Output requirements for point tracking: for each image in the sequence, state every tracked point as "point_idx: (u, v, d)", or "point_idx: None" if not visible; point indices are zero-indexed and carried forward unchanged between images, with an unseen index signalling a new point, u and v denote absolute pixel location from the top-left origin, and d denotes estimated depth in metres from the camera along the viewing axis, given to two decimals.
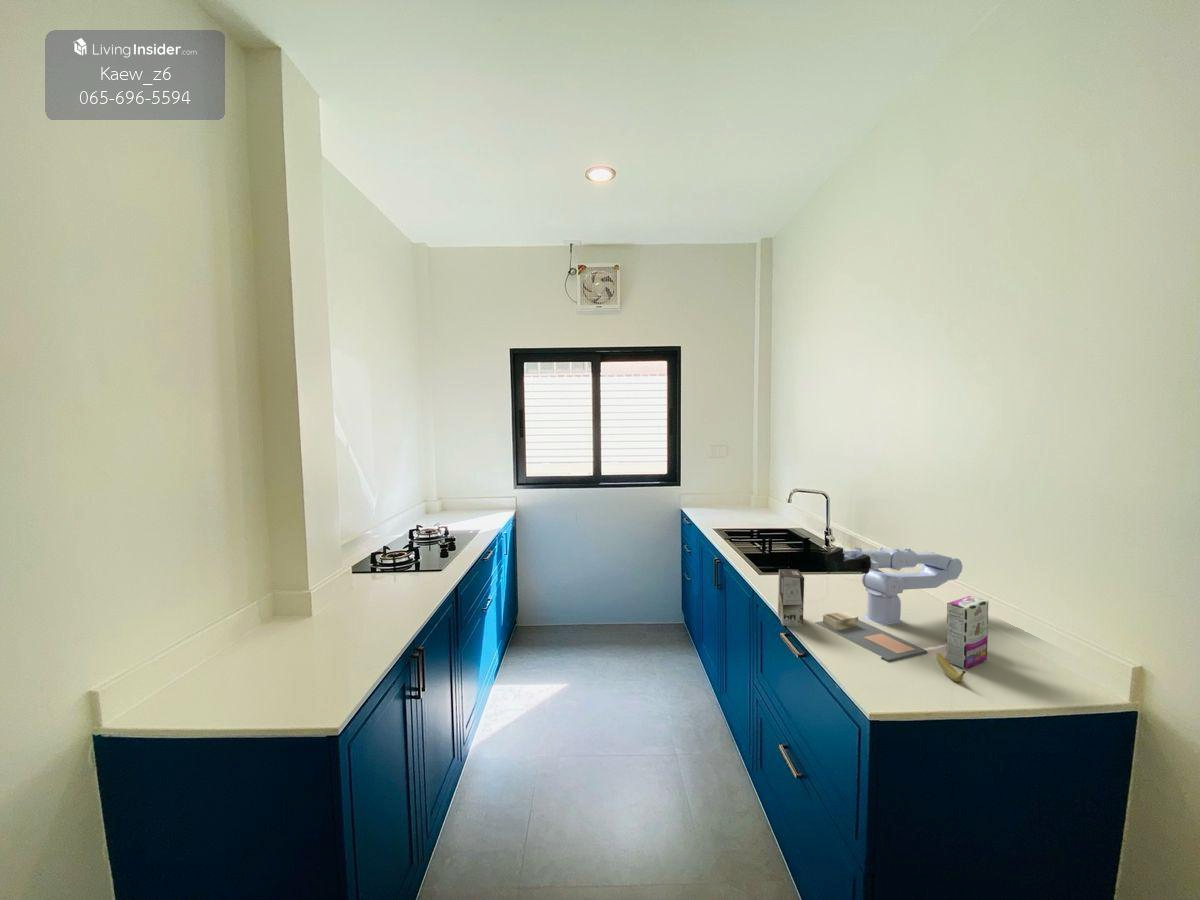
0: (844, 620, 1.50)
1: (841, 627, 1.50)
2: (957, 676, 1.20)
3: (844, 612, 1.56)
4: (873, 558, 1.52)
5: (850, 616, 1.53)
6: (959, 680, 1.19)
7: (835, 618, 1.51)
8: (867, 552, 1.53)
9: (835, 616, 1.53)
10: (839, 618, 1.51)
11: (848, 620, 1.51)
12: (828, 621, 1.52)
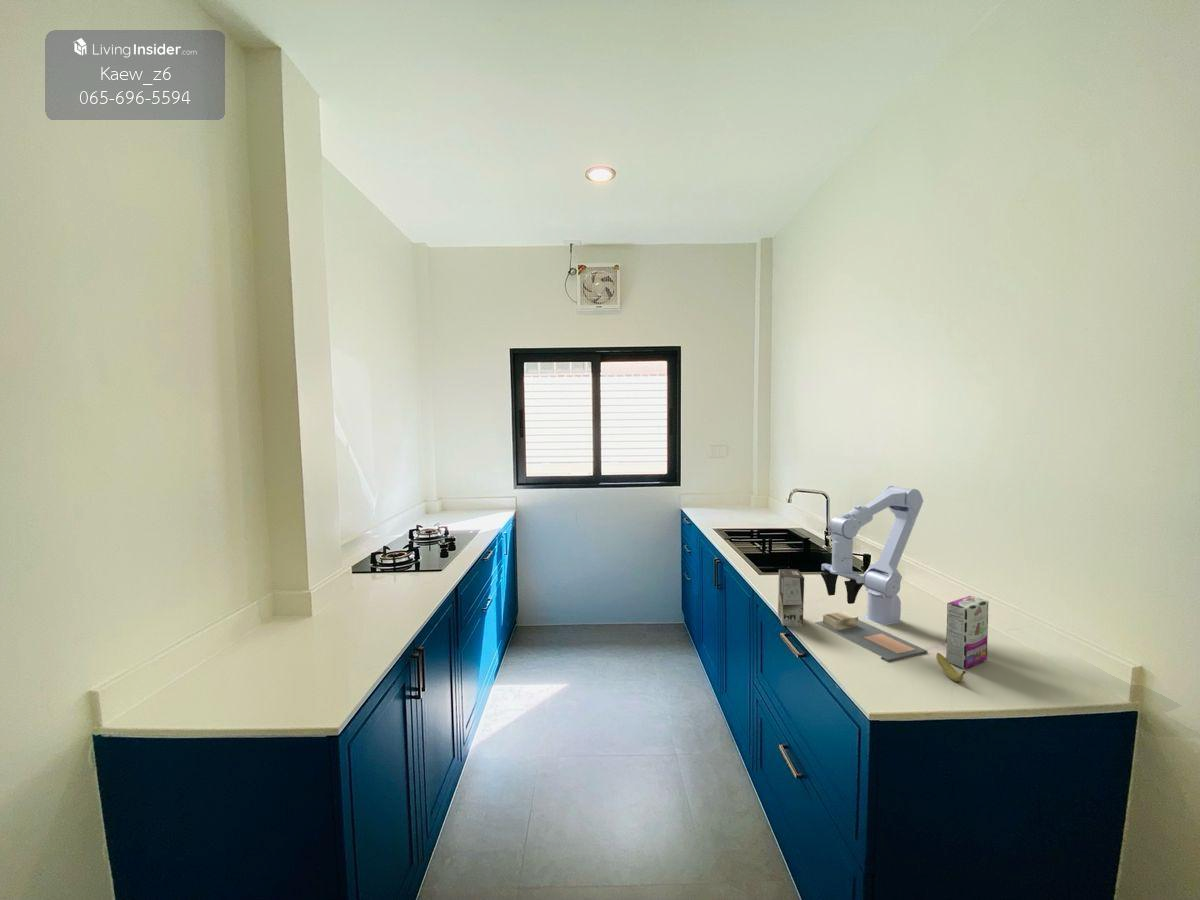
0: (844, 620, 1.50)
1: (841, 627, 1.50)
2: (957, 676, 1.20)
3: (844, 612, 1.56)
4: (846, 562, 1.49)
5: (850, 616, 1.53)
6: (959, 680, 1.19)
7: (835, 618, 1.51)
8: (838, 564, 1.50)
9: (835, 616, 1.53)
10: (839, 618, 1.51)
11: (848, 620, 1.51)
12: (828, 621, 1.52)
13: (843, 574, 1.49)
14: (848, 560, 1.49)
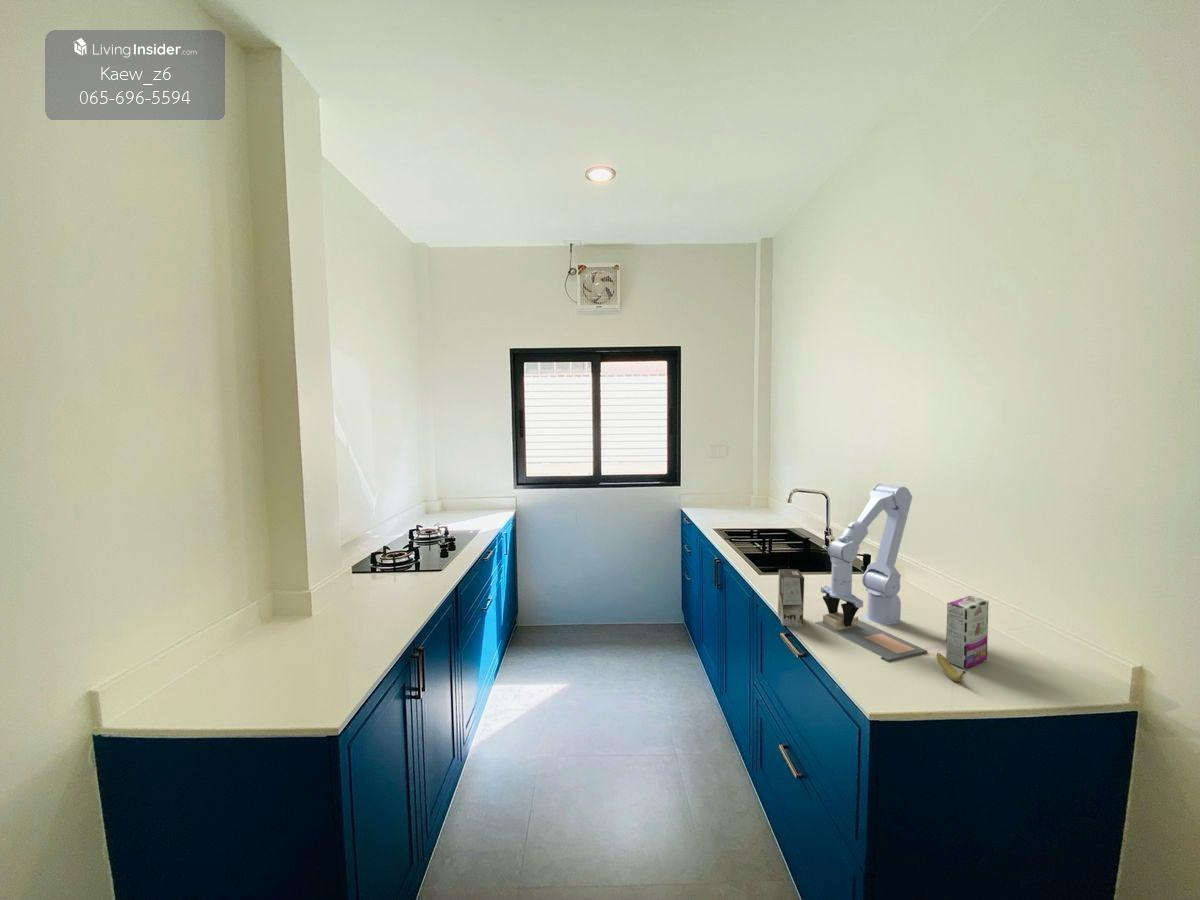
0: None
1: (841, 627, 1.50)
2: (957, 676, 1.20)
3: None
4: (845, 586, 1.50)
5: None
6: (959, 680, 1.19)
7: (835, 618, 1.51)
8: (837, 587, 1.51)
9: (835, 616, 1.53)
10: (839, 618, 1.51)
11: None
12: (828, 621, 1.52)
13: (842, 598, 1.49)
14: (847, 584, 1.50)
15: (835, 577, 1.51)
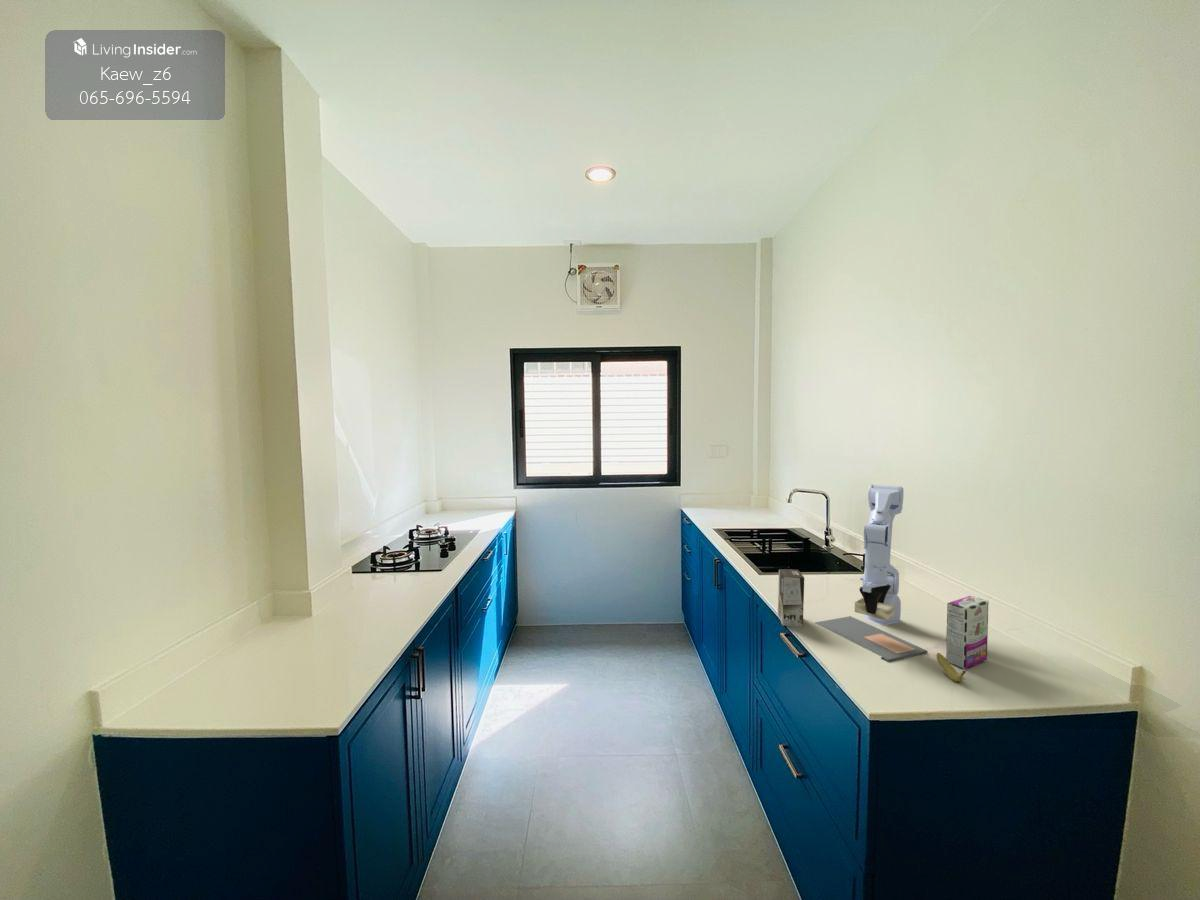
0: None
1: (862, 612, 1.44)
2: (957, 676, 1.20)
3: (889, 605, 1.43)
4: (868, 569, 1.42)
5: (883, 607, 1.41)
6: (959, 680, 1.19)
7: (861, 601, 1.46)
8: (864, 570, 1.45)
9: None
10: None
11: None
12: None
13: (863, 581, 1.43)
14: (870, 568, 1.42)
15: (876, 564, 1.41)
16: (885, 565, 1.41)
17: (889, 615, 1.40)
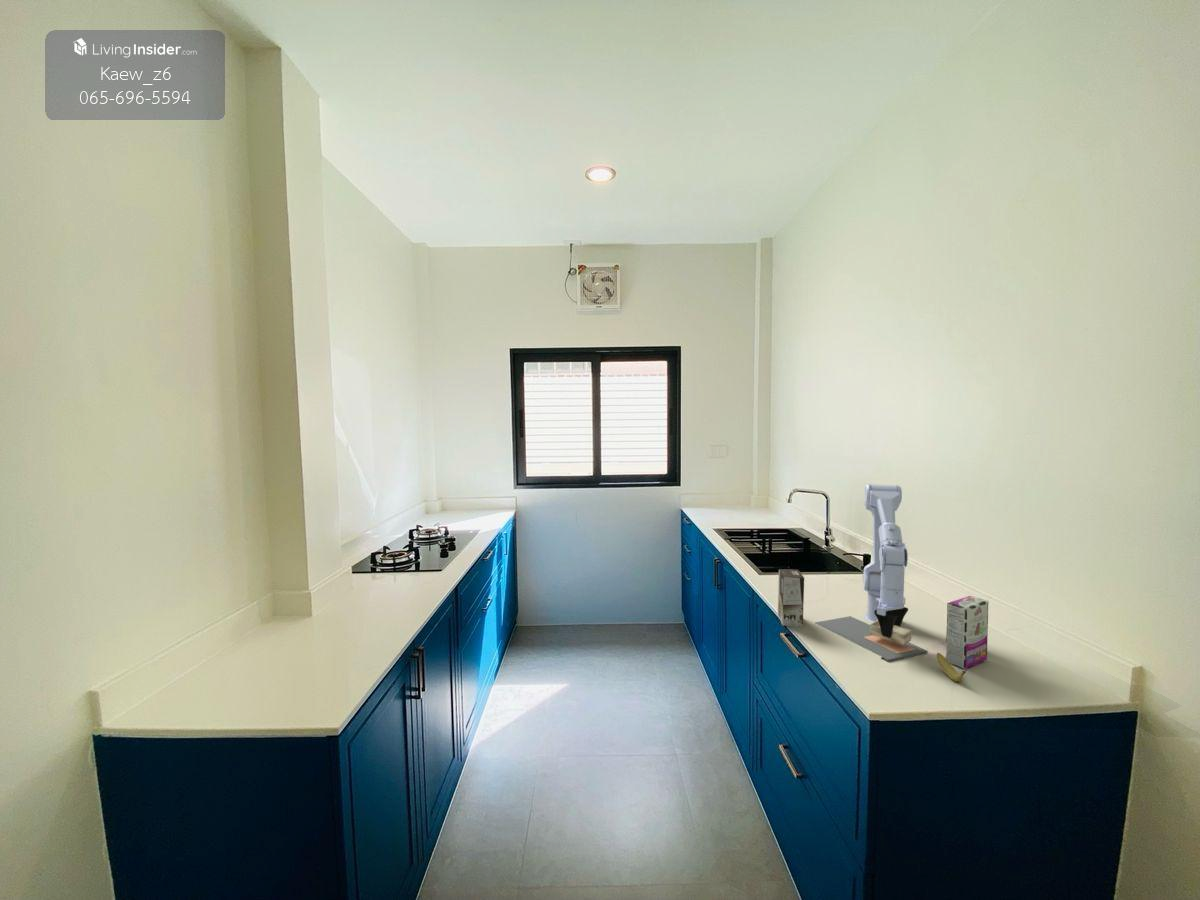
0: None
1: (878, 634, 1.41)
2: (957, 676, 1.20)
3: (906, 629, 1.39)
4: (884, 592, 1.39)
5: (899, 631, 1.38)
6: (959, 680, 1.19)
7: (876, 624, 1.42)
8: (880, 592, 1.41)
9: None
10: None
11: None
12: None
13: (879, 603, 1.40)
14: (886, 591, 1.38)
15: (895, 587, 1.37)
16: (903, 587, 1.38)
17: (905, 639, 1.36)
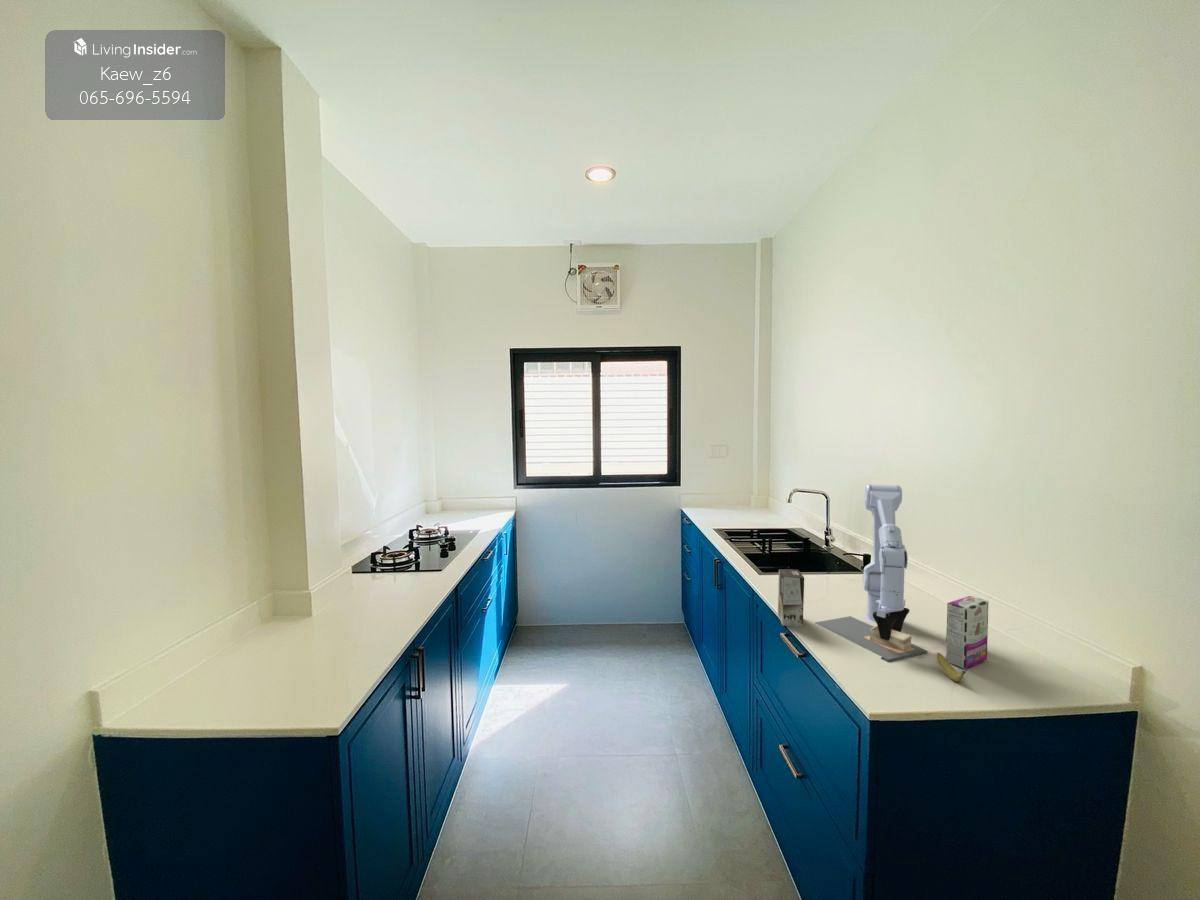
0: None
1: (878, 640, 1.41)
2: (957, 676, 1.20)
3: (905, 634, 1.39)
4: (884, 593, 1.39)
5: (899, 636, 1.38)
6: (959, 680, 1.19)
7: (876, 629, 1.42)
8: (880, 594, 1.41)
9: None
10: None
11: None
12: None
13: (879, 605, 1.40)
14: (886, 592, 1.39)
15: (895, 588, 1.37)
16: (903, 589, 1.38)
17: (905, 645, 1.36)
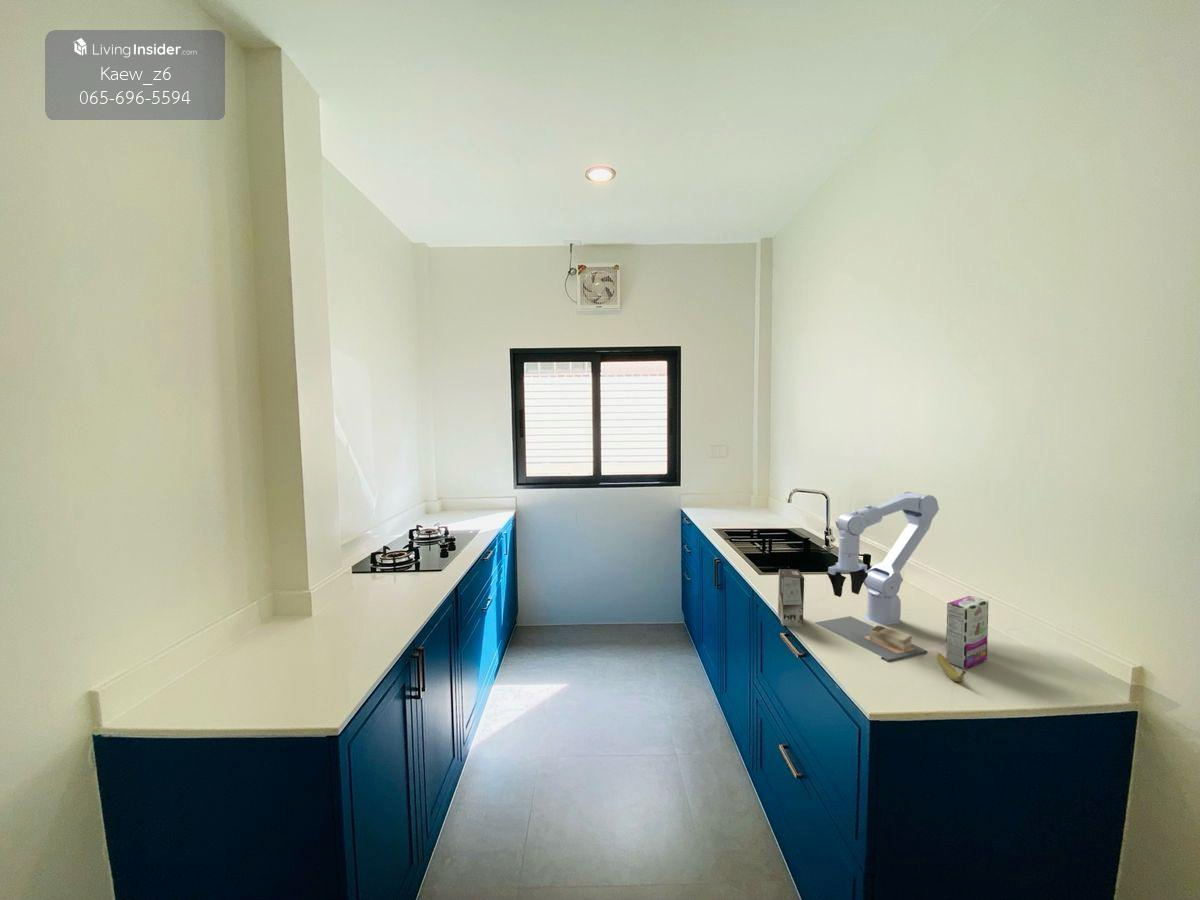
0: (882, 634, 1.40)
1: (878, 640, 1.41)
2: (957, 676, 1.20)
3: (905, 634, 1.39)
4: (839, 555, 1.55)
5: (899, 636, 1.38)
6: (959, 680, 1.19)
7: (876, 629, 1.42)
8: None
9: (885, 630, 1.42)
10: (880, 631, 1.41)
11: (888, 637, 1.39)
12: None
13: None
14: (840, 554, 1.54)
15: (841, 549, 1.54)
16: (850, 552, 1.52)
17: (905, 645, 1.36)
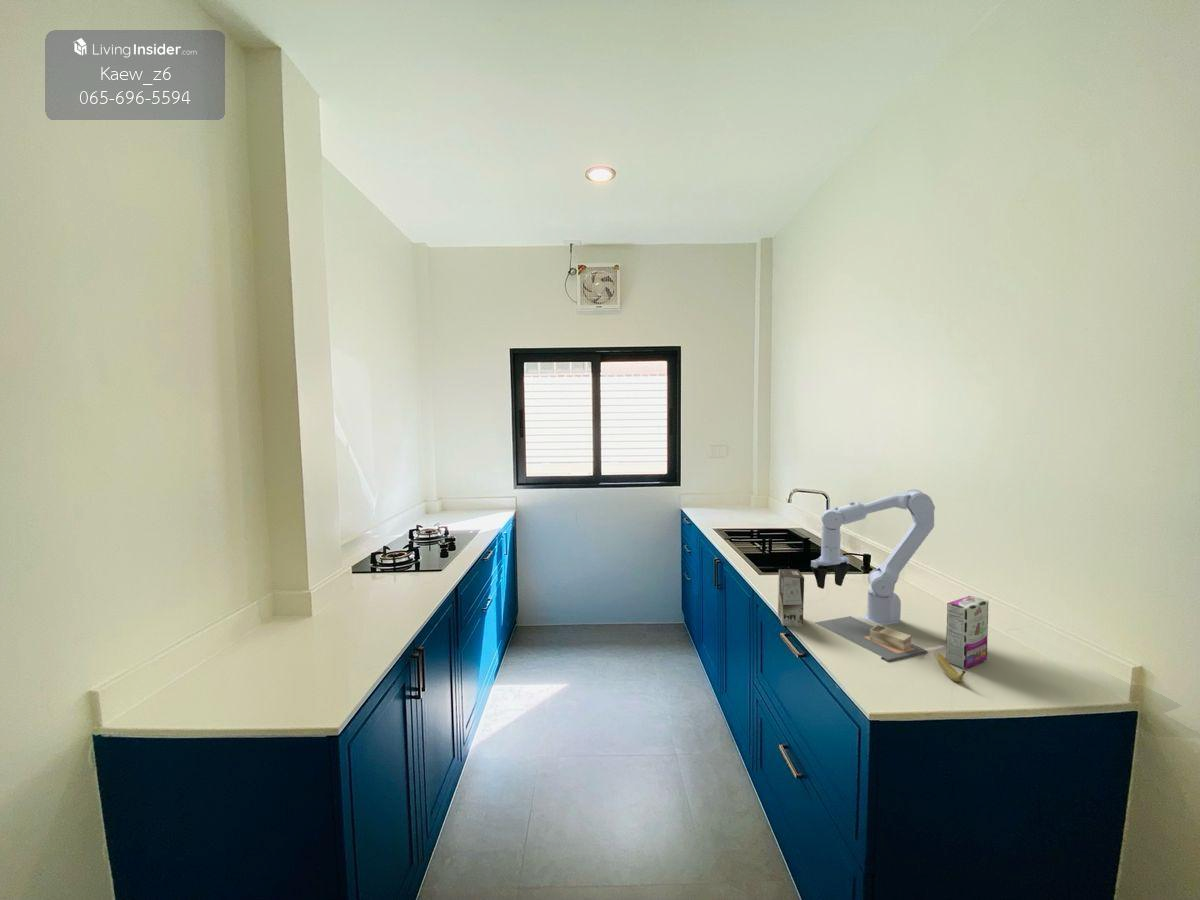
0: (882, 634, 1.40)
1: (878, 640, 1.41)
2: (957, 676, 1.20)
3: (905, 634, 1.39)
4: (822, 549, 1.63)
5: (899, 636, 1.38)
6: (959, 680, 1.19)
7: (876, 629, 1.42)
8: None
9: (885, 630, 1.42)
10: (880, 631, 1.41)
11: (888, 637, 1.39)
12: None
13: None
14: (823, 548, 1.62)
15: (821, 542, 1.63)
16: (827, 545, 1.61)
17: (905, 645, 1.36)
